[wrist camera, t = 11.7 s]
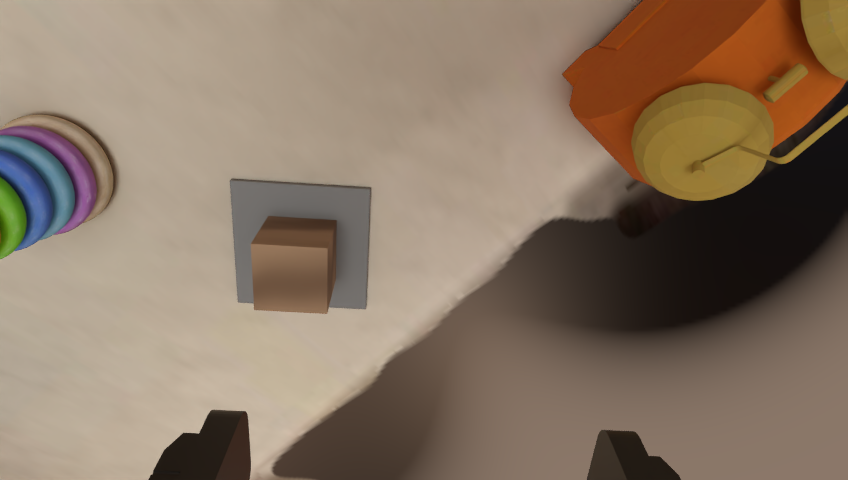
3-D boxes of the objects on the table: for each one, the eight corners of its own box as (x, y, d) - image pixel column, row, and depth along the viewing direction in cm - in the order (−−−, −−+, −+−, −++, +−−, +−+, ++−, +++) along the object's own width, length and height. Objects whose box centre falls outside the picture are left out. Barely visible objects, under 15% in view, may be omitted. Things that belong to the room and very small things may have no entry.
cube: (268, 215, 42) (250, 243, 38) (336, 220, 42) (327, 248, 38) (270, 276, 44) (254, 309, 40) (335, 280, 44) (326, 313, 40)
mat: (231, 178, 41) (230, 180, 41) (370, 187, 42) (370, 189, 41) (239, 299, 45) (237, 302, 45) (366, 306, 46) (365, 309, 46)
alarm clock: (599, 150, 41) (749, 280, 23) (541, 89, 39) (655, 179, 21) (757, 4, 37) (1088, 21, 19) (701, -70, 36) (1009, -129, 17)
